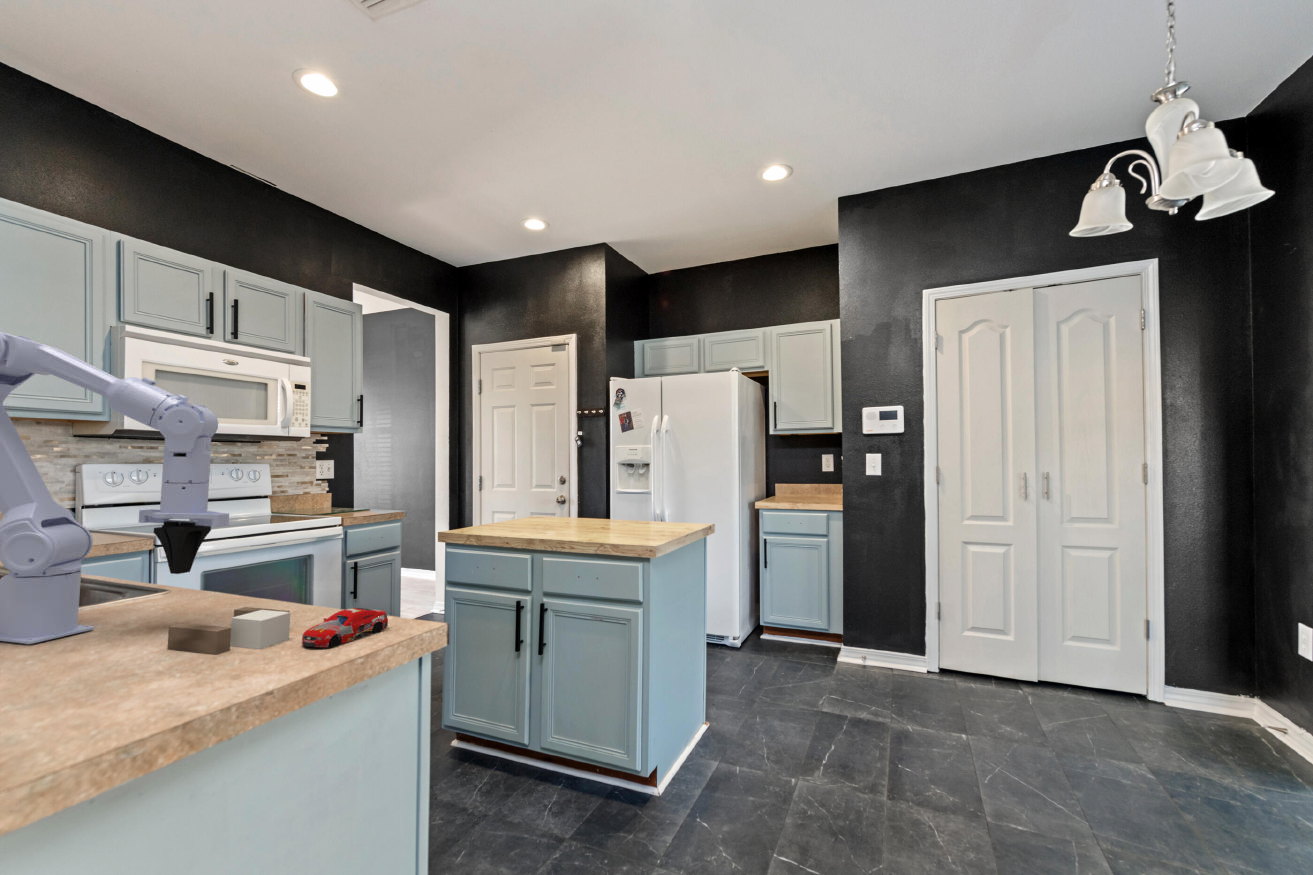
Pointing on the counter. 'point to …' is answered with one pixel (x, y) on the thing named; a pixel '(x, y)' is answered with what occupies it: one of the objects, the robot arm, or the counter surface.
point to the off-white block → (260, 629)
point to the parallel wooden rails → (204, 635)
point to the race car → (345, 627)
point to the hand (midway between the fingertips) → (180, 572)
